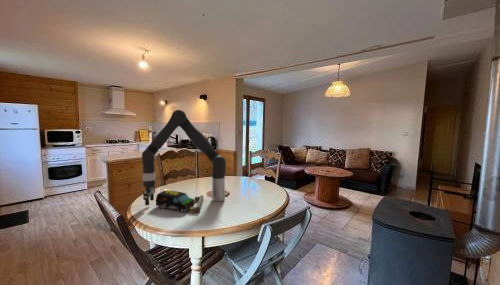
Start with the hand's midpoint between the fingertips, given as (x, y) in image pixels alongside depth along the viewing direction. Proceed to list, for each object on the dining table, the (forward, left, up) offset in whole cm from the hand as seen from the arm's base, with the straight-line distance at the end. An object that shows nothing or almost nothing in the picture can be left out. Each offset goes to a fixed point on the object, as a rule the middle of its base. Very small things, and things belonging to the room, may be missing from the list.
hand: (149, 202), depth 137 cm
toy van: (-17, +1, -4) cm, 17 cm away
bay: (-31, 0, -4) cm, 31 cm away
